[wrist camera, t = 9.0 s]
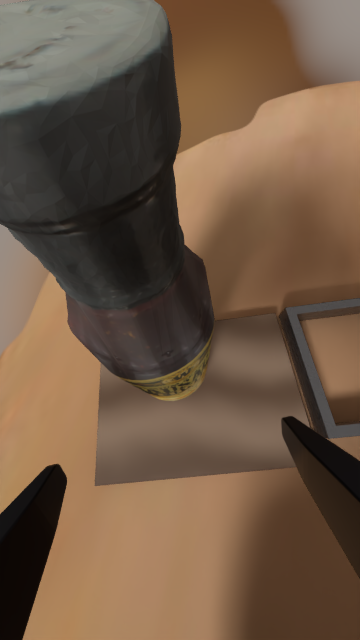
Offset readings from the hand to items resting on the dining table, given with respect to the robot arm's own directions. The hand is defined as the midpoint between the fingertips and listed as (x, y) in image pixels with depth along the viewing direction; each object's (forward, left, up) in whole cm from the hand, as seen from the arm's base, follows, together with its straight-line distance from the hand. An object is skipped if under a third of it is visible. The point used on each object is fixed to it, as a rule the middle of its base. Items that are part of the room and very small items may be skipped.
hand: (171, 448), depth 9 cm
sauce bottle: (+6, +1, -11) cm, 12 cm away
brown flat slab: (+3, -1, -12) cm, 12 cm away
